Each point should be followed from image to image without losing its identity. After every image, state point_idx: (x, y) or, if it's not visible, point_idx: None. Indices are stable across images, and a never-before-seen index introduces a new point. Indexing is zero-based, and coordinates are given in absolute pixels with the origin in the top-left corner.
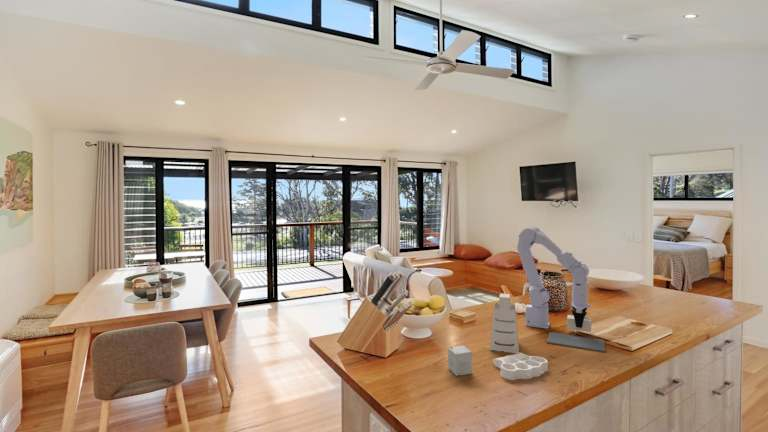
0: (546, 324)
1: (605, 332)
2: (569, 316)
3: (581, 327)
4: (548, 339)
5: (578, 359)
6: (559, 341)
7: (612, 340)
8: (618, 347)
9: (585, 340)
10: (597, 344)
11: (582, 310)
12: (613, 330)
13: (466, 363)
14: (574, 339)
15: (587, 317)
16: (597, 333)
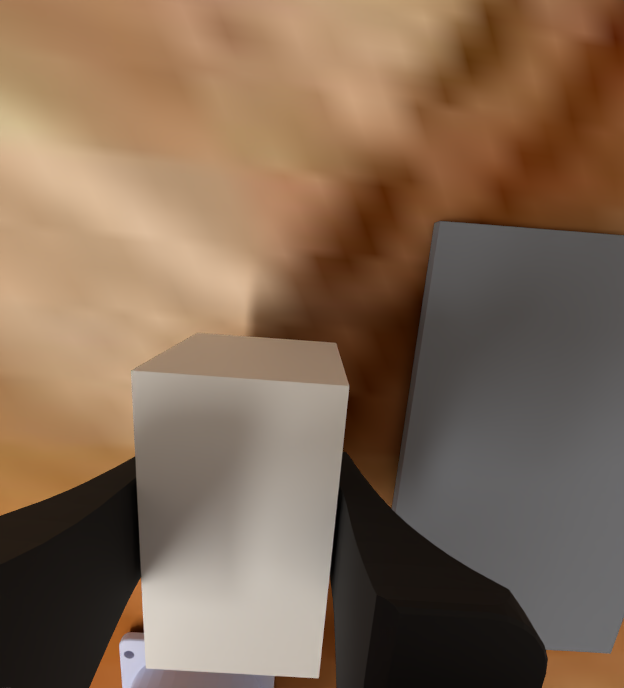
0: (230, 677)
1: (128, 177)
2: (213, 651)
3: (347, 455)
4: (560, 643)
5: None
6: (587, 578)
7: (372, 131)
8: (576, 94)
9: (508, 393)
10: (595, 298)
11: (47, 603)
12: (2, 73)
13: None
14: (506, 477)
15: (136, 428)
16: (203, 264)
